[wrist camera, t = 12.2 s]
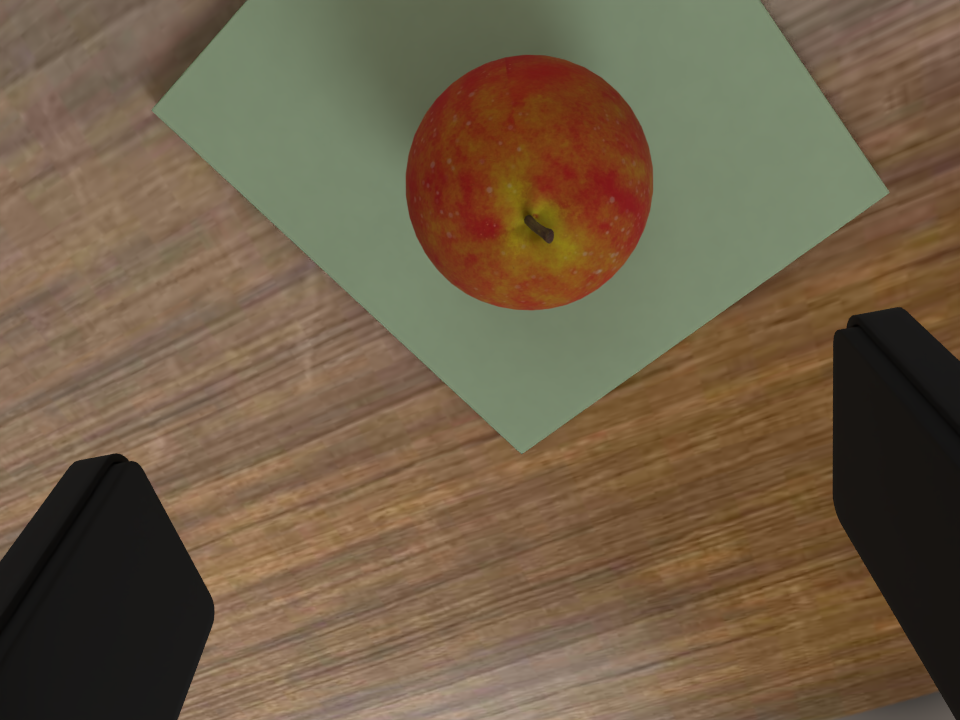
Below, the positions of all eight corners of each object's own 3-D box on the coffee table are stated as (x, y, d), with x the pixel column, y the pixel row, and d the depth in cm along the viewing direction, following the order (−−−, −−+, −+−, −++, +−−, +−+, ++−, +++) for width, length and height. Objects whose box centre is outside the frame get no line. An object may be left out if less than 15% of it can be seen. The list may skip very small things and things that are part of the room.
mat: (157, 106, 26) (150, 110, 25) (534, -327, 20) (536, -333, 20) (521, 446, 32) (521, 454, 31) (882, 187, 27) (890, 193, 26)
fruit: (443, 270, 28) (426, 391, 21) (392, 64, 24) (351, 126, 17) (643, 233, 27) (695, 346, 20) (619, 15, 23) (671, 58, 17)
